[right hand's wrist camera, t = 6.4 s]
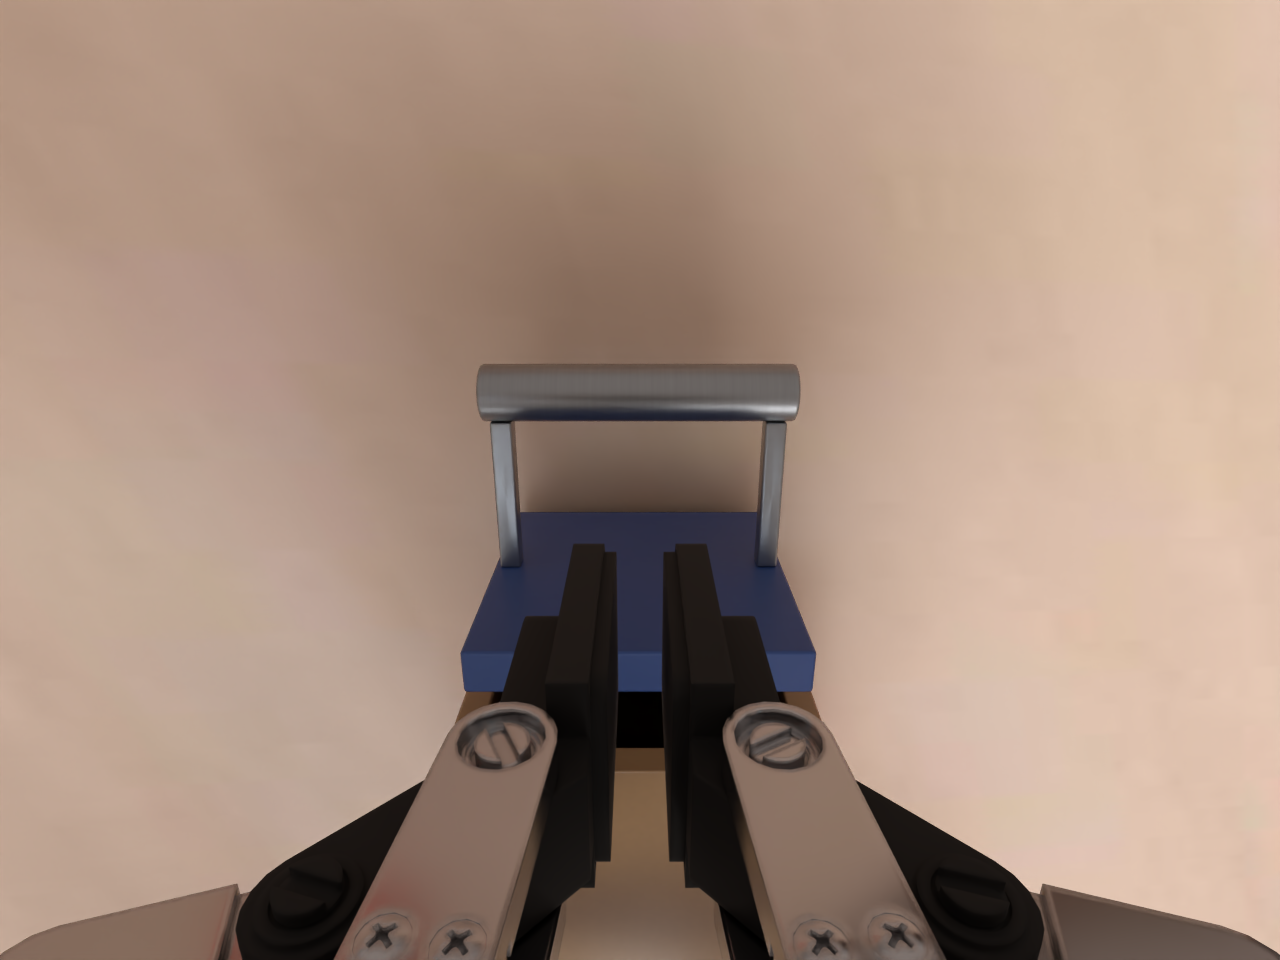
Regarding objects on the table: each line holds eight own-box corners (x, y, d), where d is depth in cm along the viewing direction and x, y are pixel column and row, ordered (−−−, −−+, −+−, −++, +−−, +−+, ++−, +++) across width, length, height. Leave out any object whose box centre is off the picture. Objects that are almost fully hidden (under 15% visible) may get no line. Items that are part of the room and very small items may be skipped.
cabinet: (510, 568, 27) (435, 771, 17) (767, 568, 27) (841, 771, 17) (537, 947, 34) (496, 1244, 24) (740, 947, 34) (781, 1244, 24)
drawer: (506, 340, 23) (432, 407, 15) (771, 340, 23) (842, 407, 15) (543, 906, 32) (510, 1142, 24) (734, 906, 32) (767, 1142, 24)
